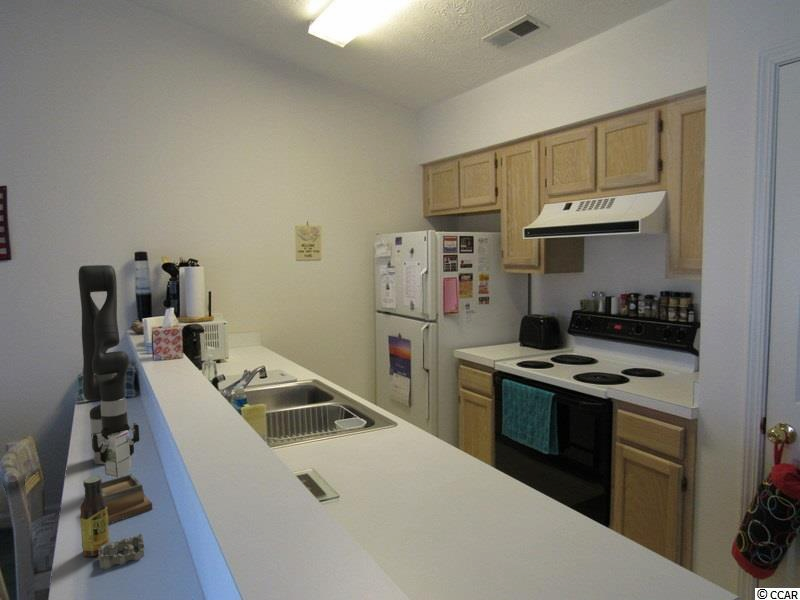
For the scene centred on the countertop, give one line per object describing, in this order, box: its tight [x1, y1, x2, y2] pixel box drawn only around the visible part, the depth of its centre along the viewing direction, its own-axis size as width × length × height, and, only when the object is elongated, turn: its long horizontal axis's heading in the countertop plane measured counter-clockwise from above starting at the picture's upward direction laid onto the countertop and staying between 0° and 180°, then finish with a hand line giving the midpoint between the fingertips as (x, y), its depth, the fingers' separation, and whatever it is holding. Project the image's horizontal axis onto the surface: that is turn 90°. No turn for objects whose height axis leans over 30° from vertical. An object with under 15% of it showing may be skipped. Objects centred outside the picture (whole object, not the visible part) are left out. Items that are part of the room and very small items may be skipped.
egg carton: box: [97, 533, 145, 570], centre depth 135 cm, size 11×8×4 cm
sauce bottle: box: [80, 476, 110, 558], centre depth 137 cm, size 6×6×20 cm
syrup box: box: [102, 430, 132, 478], centre depth 172 cm, size 6×6×14 cm
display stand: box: [101, 473, 153, 525], centre depth 159 cm, size 16×14×8 cm
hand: (117, 458), depth 172 cm, fingers closed on syrup box, 7 cm apart
